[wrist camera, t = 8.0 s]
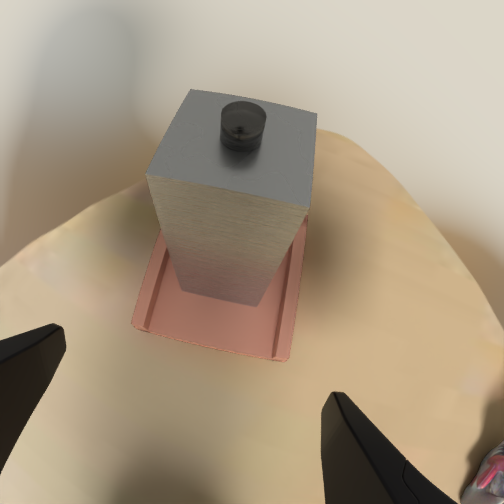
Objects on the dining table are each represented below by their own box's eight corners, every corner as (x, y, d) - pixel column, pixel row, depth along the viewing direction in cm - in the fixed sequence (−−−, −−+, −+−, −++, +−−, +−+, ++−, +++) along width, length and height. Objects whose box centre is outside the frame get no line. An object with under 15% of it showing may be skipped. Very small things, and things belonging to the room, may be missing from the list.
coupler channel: (283, 361, 19) (292, 359, 17) (137, 329, 19) (128, 322, 17) (302, 231, 23) (310, 215, 21) (176, 204, 23) (173, 186, 21)
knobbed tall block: (256, 307, 20) (320, 187, 8) (181, 290, 19) (139, 152, 8) (267, 246, 21) (324, 94, 10) (198, 231, 21) (189, 68, 10)
